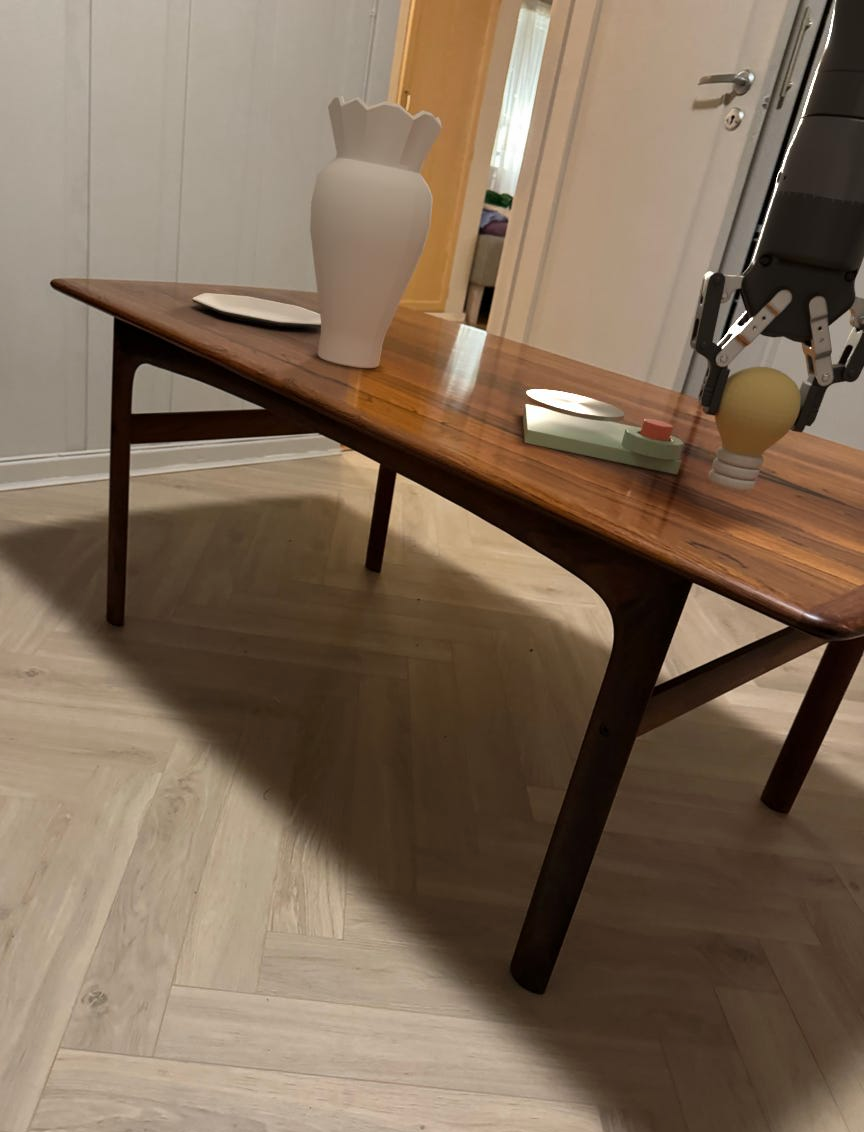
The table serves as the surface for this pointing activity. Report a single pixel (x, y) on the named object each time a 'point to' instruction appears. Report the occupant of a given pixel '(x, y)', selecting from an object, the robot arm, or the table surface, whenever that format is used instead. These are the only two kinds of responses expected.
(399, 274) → the vase
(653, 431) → the button
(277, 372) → the table surface
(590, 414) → the scale pan
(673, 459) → the scale
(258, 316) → the plate
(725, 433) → the light bulb
